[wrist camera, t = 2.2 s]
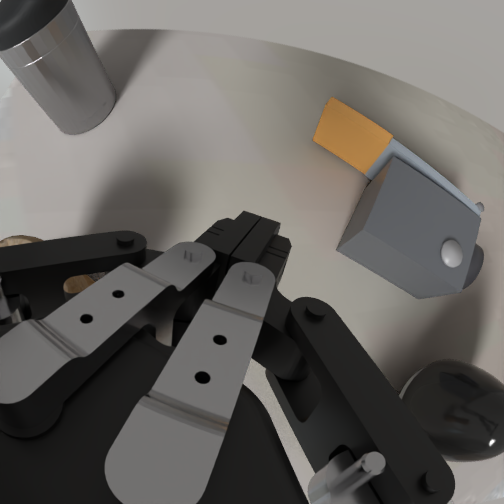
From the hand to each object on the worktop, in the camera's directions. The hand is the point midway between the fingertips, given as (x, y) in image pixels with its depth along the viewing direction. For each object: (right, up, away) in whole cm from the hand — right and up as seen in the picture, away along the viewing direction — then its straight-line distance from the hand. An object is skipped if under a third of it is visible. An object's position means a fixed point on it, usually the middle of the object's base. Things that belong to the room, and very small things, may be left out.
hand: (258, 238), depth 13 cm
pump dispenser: (+19, -17, +17) cm, 30 cm away
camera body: (+16, 0, +20) cm, 26 cm away
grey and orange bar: (+15, +7, +21) cm, 27 cm away
